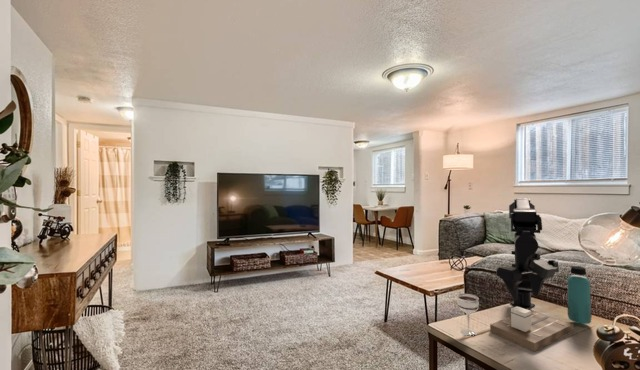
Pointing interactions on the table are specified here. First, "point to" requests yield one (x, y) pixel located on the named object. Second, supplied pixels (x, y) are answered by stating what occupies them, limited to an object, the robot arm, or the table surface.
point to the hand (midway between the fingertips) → (525, 298)
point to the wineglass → (468, 309)
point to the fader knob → (521, 318)
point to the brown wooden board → (533, 331)
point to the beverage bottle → (579, 296)
